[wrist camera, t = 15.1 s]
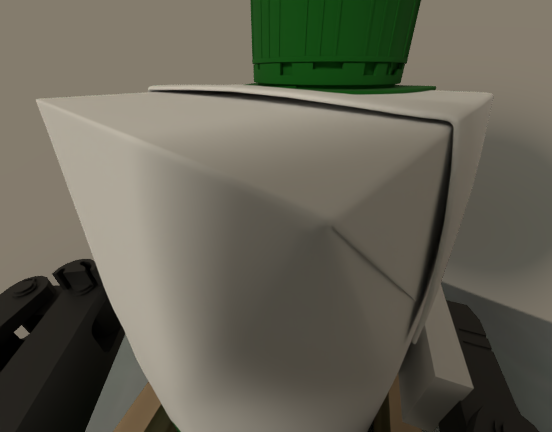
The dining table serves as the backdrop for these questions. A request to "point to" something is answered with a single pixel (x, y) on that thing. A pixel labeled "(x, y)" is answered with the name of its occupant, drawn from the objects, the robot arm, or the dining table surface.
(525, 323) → the dining table surface
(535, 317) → the dining table surface
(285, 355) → the soya milk
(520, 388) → the dining table surface
